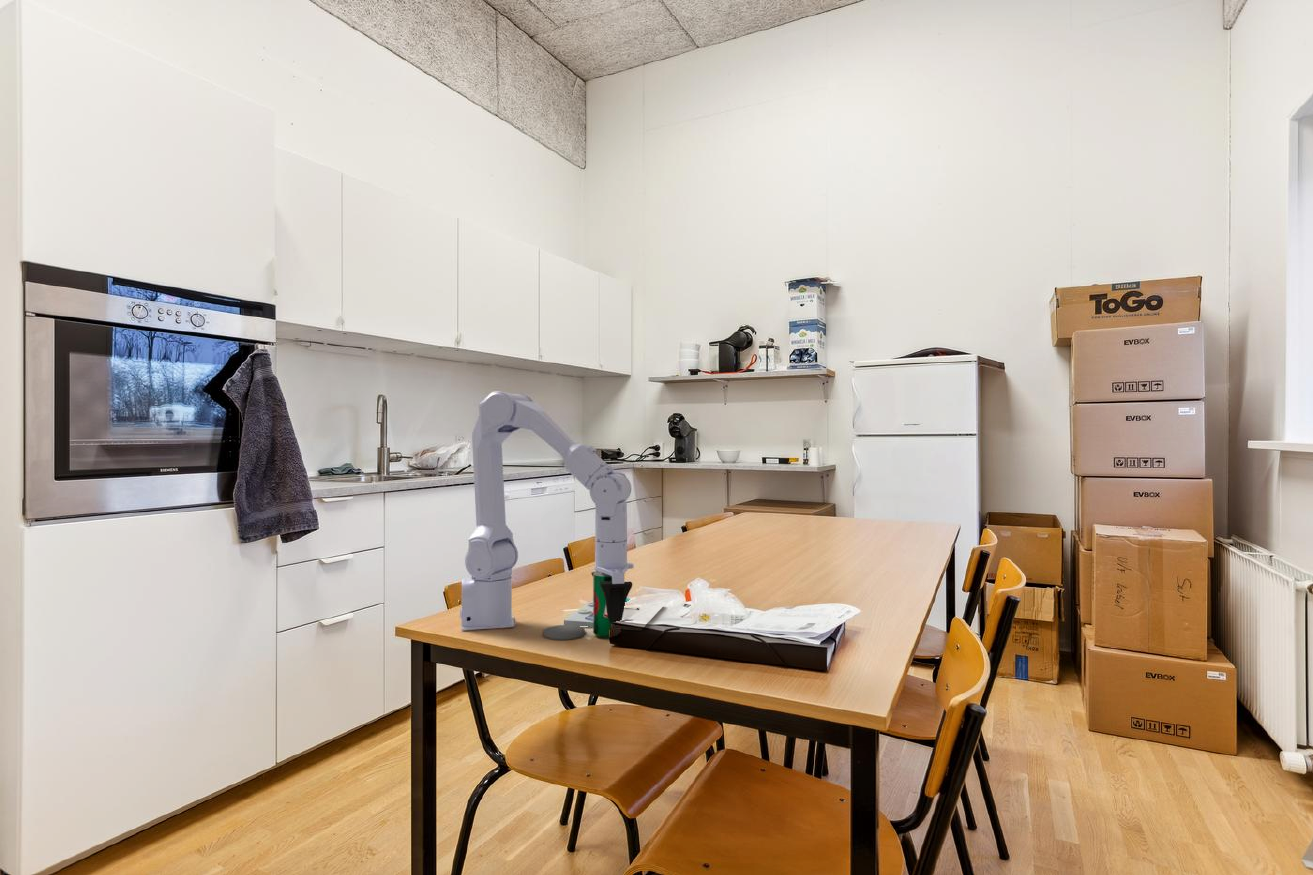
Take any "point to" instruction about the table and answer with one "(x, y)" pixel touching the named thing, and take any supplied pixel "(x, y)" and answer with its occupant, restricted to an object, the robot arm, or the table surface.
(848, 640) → the table surface
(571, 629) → the rubber mat
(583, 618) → the electronic device
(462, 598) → the robot arm
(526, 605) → the table surface
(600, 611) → the soda can
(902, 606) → the table surface
